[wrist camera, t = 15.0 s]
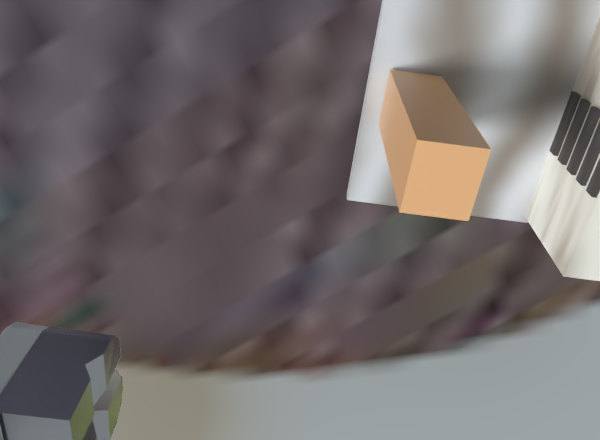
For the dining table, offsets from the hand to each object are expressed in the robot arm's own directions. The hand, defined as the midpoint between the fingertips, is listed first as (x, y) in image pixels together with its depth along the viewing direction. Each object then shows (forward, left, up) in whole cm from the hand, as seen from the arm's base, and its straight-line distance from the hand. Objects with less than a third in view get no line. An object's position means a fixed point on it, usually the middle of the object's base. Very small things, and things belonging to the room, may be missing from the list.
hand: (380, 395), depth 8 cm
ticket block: (+12, +9, -33) cm, 36 cm away
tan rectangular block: (+7, +2, -32) cm, 33 cm away
